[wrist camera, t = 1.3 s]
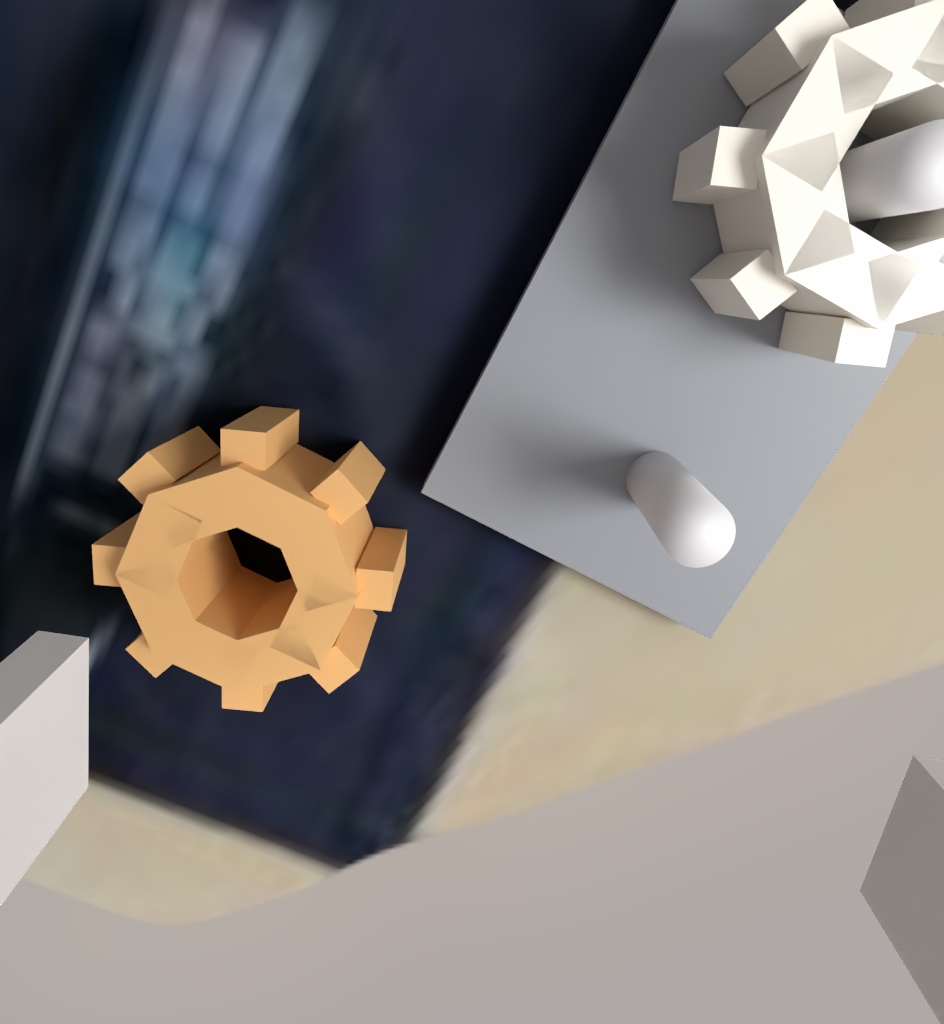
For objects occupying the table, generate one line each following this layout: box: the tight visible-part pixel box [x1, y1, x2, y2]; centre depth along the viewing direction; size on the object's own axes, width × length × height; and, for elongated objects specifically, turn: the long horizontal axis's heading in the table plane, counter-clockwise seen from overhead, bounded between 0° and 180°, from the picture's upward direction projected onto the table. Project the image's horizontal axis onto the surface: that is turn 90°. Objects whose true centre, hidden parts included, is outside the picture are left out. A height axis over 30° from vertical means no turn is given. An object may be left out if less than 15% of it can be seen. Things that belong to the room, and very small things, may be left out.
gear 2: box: [672, 0, 944, 367], centre depth 22 cm, size 10×10×5 cm
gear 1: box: [92, 406, 407, 712], centre depth 27 cm, size 10×10×5 cm
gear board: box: [421, 0, 944, 638], centre depth 23 cm, size 12×19×8 cm, turn 152°
